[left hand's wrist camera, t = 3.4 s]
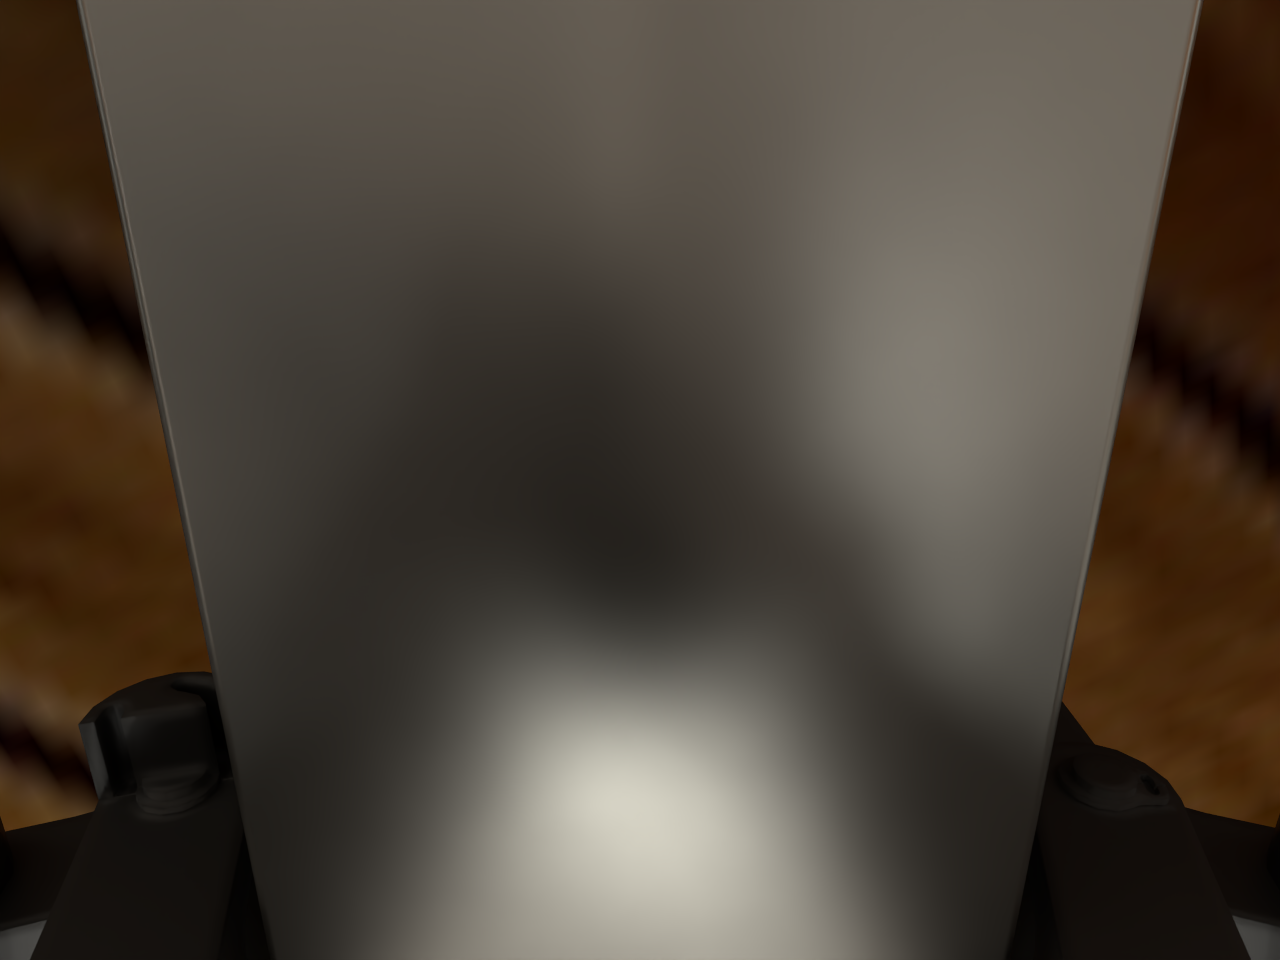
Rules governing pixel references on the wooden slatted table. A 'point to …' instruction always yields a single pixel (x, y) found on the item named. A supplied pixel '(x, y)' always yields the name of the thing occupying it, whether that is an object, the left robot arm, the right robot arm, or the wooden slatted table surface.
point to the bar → (639, 446)
